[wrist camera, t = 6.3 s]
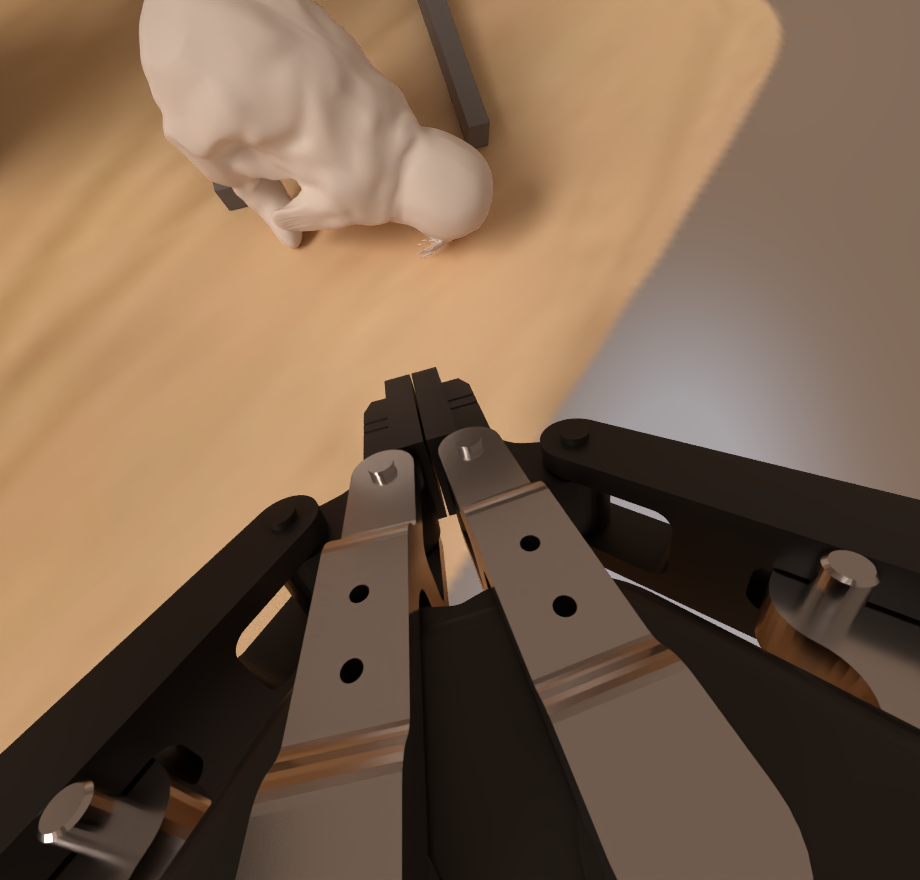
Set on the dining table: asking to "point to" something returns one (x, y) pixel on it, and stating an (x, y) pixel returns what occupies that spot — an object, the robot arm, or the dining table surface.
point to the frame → (455, 78)
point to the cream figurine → (303, 121)
